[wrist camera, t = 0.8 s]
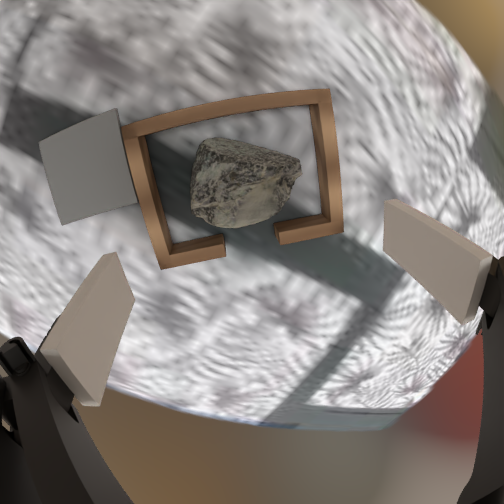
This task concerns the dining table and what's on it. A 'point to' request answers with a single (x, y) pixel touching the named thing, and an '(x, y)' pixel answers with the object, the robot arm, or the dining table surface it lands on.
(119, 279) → the robot arm
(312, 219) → the frame
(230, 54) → the dining table surface
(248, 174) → the stone
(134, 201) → the slate coaster
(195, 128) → the dining table surface
